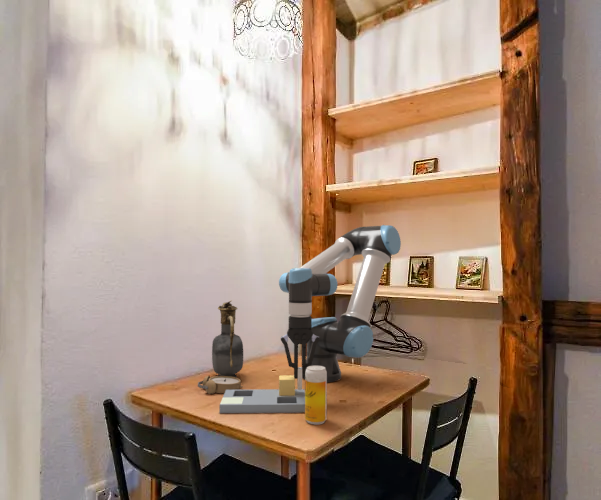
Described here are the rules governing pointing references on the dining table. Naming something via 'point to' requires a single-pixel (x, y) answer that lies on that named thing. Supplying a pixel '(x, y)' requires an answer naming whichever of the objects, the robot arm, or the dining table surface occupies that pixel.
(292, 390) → the block
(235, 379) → the alarm clock
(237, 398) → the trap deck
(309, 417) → the beer can
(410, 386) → the dining table surface
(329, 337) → the robot arm
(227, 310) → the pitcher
